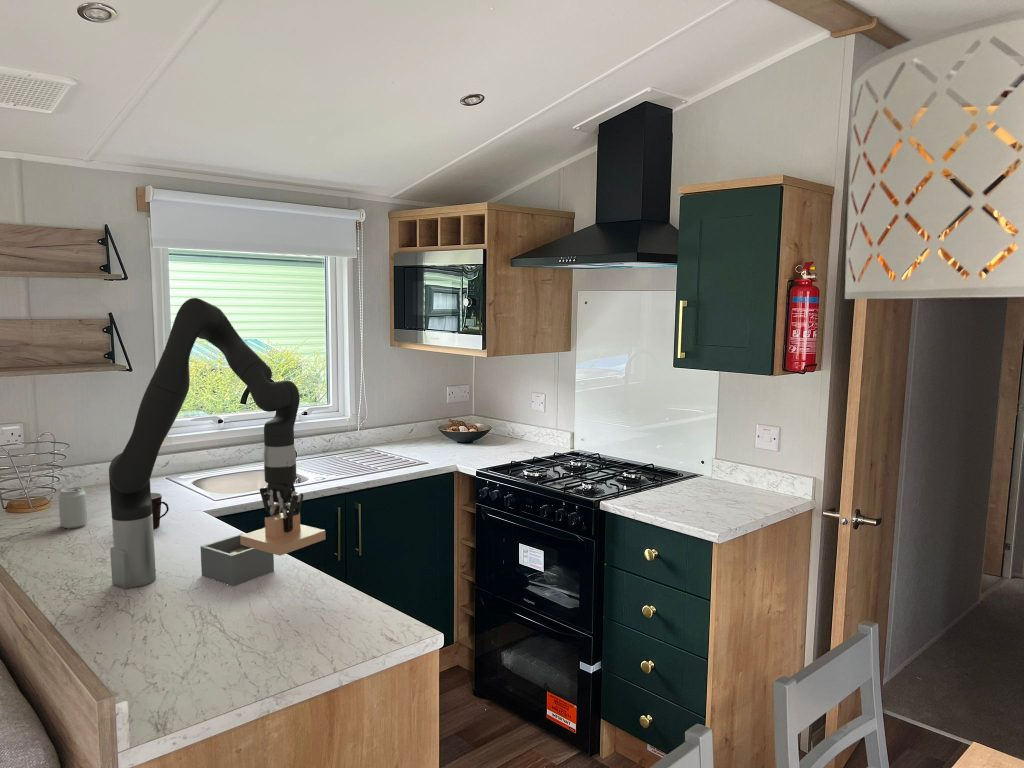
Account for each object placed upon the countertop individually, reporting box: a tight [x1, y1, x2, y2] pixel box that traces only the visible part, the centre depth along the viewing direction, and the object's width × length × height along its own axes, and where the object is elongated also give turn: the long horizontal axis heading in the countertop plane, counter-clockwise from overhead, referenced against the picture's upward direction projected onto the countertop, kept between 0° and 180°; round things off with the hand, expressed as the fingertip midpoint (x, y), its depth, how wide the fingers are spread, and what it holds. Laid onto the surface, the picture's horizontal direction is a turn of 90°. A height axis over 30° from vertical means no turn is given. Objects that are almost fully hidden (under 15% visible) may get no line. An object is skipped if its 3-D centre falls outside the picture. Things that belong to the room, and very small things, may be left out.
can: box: [57, 486, 89, 530], centre depth 240 cm, size 8×8×12 cm
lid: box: [240, 510, 326, 556], centre depth 189 cm, size 14×14×7 cm
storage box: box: [200, 533, 275, 587], centre depth 200 cm, size 13×13×8 cm
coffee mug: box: [151, 492, 170, 530], centre depth 238 cm, size 12×9×10 cm
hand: (282, 529), depth 189 cm, fingers closed on lid, 3 cm apart
